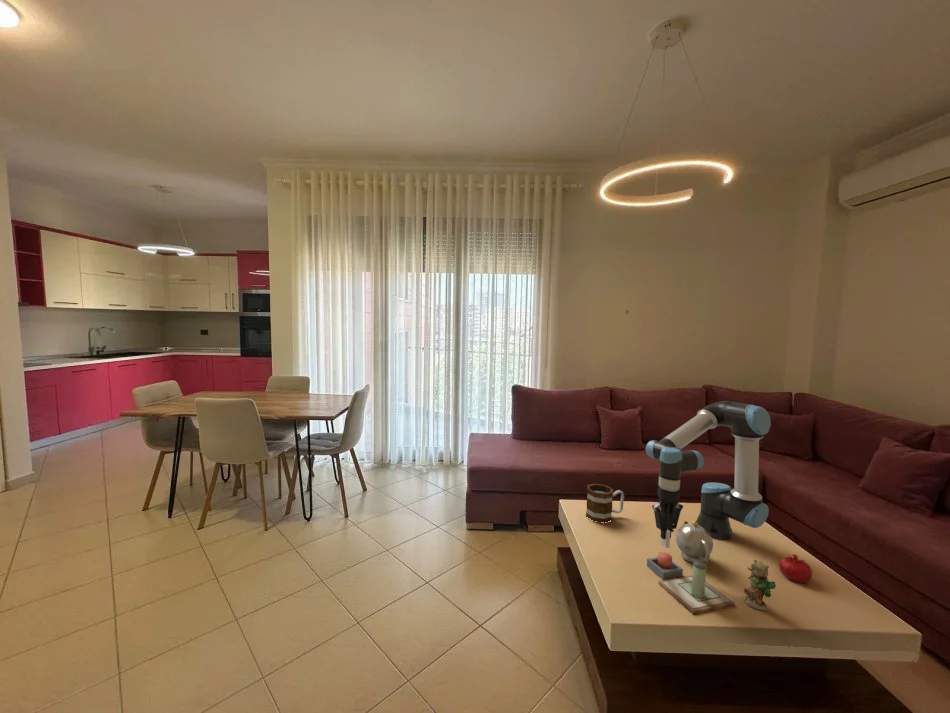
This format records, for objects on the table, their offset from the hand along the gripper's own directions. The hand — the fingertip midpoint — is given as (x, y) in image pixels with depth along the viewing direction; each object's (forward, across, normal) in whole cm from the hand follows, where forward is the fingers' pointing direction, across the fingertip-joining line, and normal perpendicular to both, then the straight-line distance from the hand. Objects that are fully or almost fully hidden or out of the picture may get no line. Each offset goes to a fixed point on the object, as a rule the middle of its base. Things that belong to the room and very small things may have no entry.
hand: (665, 546), depth 150 cm
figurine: (+11, -18, +24) cm, 32 cm away
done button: (+8, 0, 0) cm, 8 cm away
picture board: (+10, -1, +14) cm, 17 cm away
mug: (+11, -3, -45) cm, 46 cm away
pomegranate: (+10, -48, +15) cm, 52 cm away
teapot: (+10, -18, -3) cm, 21 cm away
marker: (+9, 0, +16) cm, 18 cm away
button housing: (+10, 0, 0) cm, 10 cm away
